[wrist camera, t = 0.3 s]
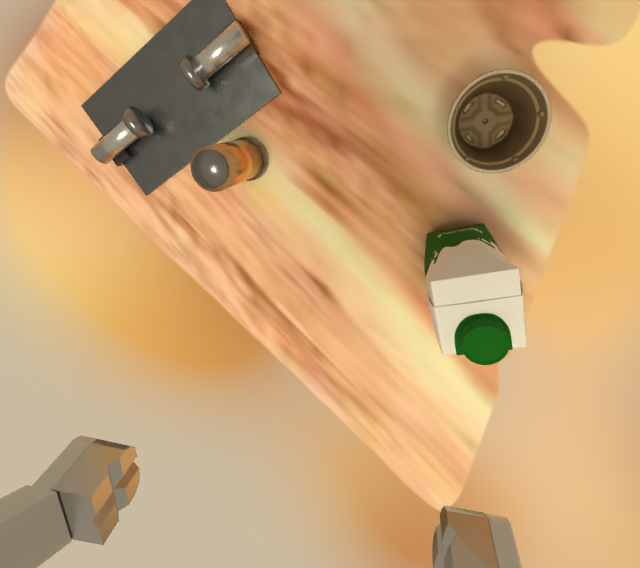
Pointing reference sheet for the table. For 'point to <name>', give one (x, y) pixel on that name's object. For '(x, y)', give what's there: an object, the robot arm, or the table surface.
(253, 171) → the amber capped cylinder
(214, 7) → the shaft bench
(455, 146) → the flower pot
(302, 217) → the table surface
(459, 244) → the milk carton
